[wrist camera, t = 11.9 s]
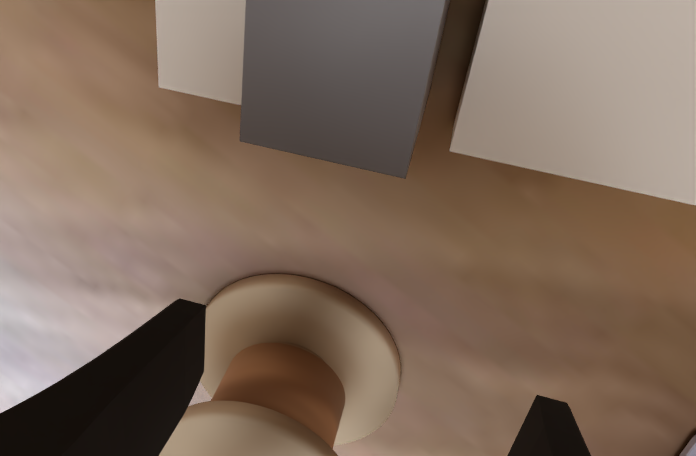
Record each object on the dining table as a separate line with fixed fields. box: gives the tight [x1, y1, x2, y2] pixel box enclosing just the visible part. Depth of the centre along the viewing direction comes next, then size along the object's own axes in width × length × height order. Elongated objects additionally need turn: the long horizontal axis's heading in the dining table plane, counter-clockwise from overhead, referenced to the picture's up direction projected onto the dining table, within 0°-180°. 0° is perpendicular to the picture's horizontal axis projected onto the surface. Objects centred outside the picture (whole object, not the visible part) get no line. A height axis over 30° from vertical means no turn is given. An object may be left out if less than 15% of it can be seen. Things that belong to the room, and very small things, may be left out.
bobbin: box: [159, 274, 401, 456], centre depth 23 cm, size 9×9×6 cm
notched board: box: [155, 0, 696, 205], centre depth 16 cm, size 18×8×2 cm, turn 82°
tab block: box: [240, 0, 450, 179], centre depth 15 cm, size 4×4×6 cm
